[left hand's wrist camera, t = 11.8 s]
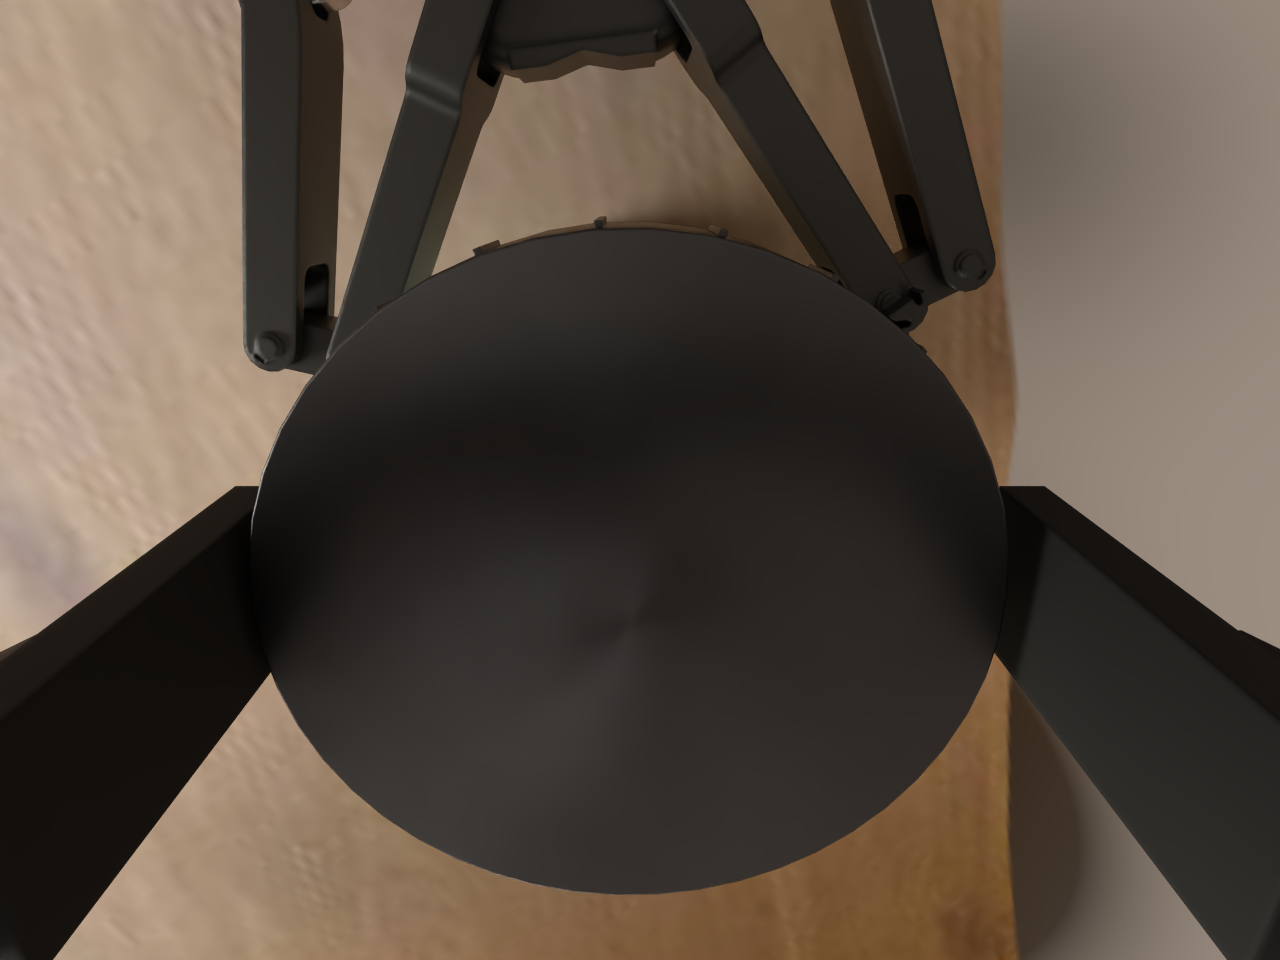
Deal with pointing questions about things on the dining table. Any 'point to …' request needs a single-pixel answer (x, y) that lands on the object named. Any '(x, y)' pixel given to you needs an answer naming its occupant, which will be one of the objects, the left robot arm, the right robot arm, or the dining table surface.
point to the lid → (629, 559)
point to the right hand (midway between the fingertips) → (649, 577)
